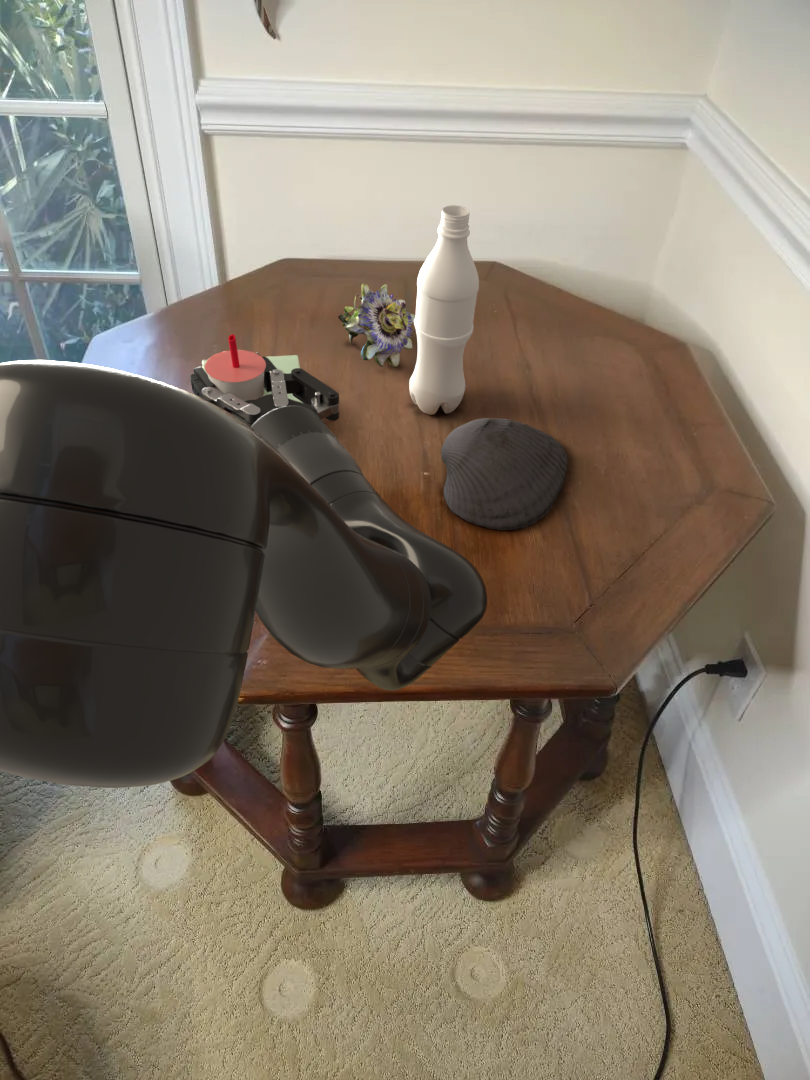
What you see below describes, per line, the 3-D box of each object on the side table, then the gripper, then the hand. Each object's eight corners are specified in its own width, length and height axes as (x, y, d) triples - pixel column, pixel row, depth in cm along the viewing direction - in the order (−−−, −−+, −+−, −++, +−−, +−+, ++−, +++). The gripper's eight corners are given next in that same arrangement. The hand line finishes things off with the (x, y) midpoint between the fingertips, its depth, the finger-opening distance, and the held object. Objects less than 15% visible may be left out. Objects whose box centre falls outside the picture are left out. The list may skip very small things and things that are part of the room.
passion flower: (390, 396, 110) (380, 364, 98) (328, 360, 112) (310, 324, 100) (432, 331, 111) (426, 292, 99) (369, 297, 112) (356, 254, 101)
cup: (239, 469, 72) (227, 357, 64) (204, 444, 74) (187, 332, 66) (282, 445, 75) (276, 335, 67) (247, 422, 78) (236, 312, 69)
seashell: (410, 508, 89) (408, 458, 83) (491, 416, 99) (496, 365, 93) (518, 560, 84) (525, 511, 78) (593, 457, 94) (604, 407, 88)
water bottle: (470, 397, 101) (498, 206, 84) (450, 426, 97) (474, 230, 79) (421, 382, 103) (438, 192, 85) (398, 409, 98) (411, 214, 81)
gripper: (384, 411, 62) (294, 315, 72) (214, 463, 56) (142, 350, 66) (381, 482, 67) (298, 383, 77) (225, 536, 61) (157, 421, 71)
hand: (226, 369), depth 71 cm, fingers closed on cup, 5 cm apart
